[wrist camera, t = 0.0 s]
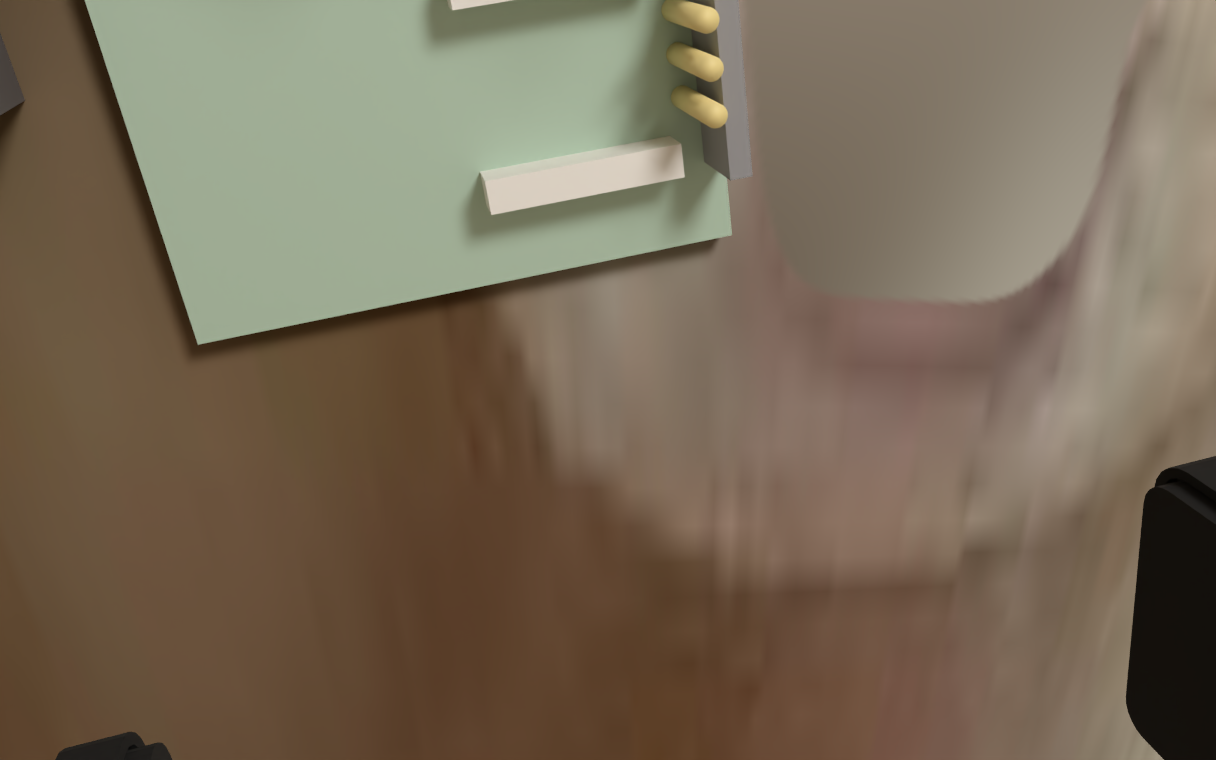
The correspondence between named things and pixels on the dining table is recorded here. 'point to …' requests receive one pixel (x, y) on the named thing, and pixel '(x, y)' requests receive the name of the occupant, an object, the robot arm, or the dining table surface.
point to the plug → (8, 82)
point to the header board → (420, 142)
